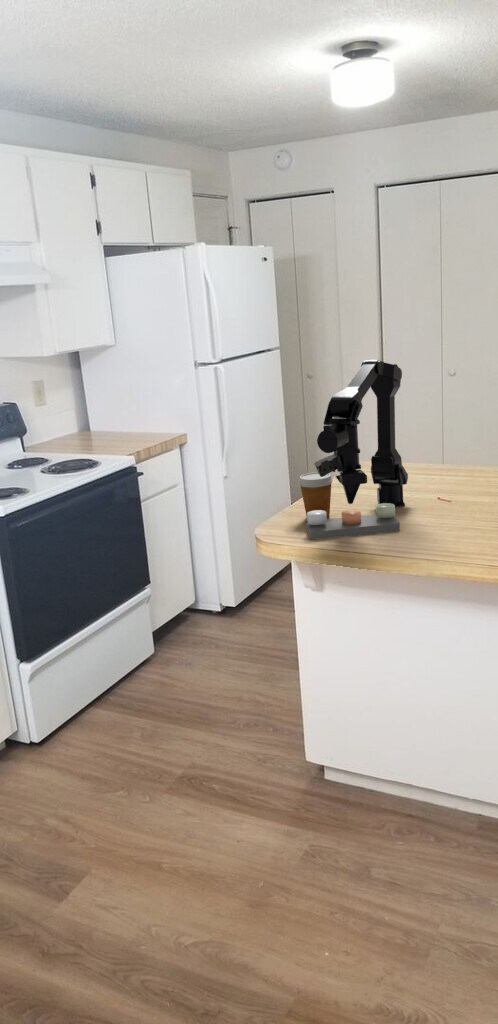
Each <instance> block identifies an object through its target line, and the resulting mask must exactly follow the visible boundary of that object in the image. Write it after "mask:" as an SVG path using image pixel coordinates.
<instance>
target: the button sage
mask: <svg viewBox="0 0 498 1024" xmlns="http://www.w3.org/2000/svg"><path fill="white" fill-rule="evenodd" d="M374 508H375V514H376V516H377V517H380V518H389V517H393V516H394V517H395V516H396V506H395V505H394V504H391V503H382V504H379V503H378V504H375V507H374Z"/></svg>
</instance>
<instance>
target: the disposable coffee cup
mask: <svg viewBox="0 0 498 1024" xmlns="http://www.w3.org/2000/svg"><path fill="white" fill-rule="evenodd" d="M333 481H334V479H333V477H332V474H331V472H330V473H328V474H326V476H323V477H320V475H319V473H318V471H316V472H308V473H303V474H302V475H300V476H299V480H298V481H297V483H298V484H299V486H300V491H301V495H302V500H303V501H302V502H303V506H304V510H305V515H306V517H307V513H308V512H310V511H314V510H323V511H326V515H327V519H330V515H331V514H330V510H331V499H332V498H331V497H332V483H333Z"/></svg>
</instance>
